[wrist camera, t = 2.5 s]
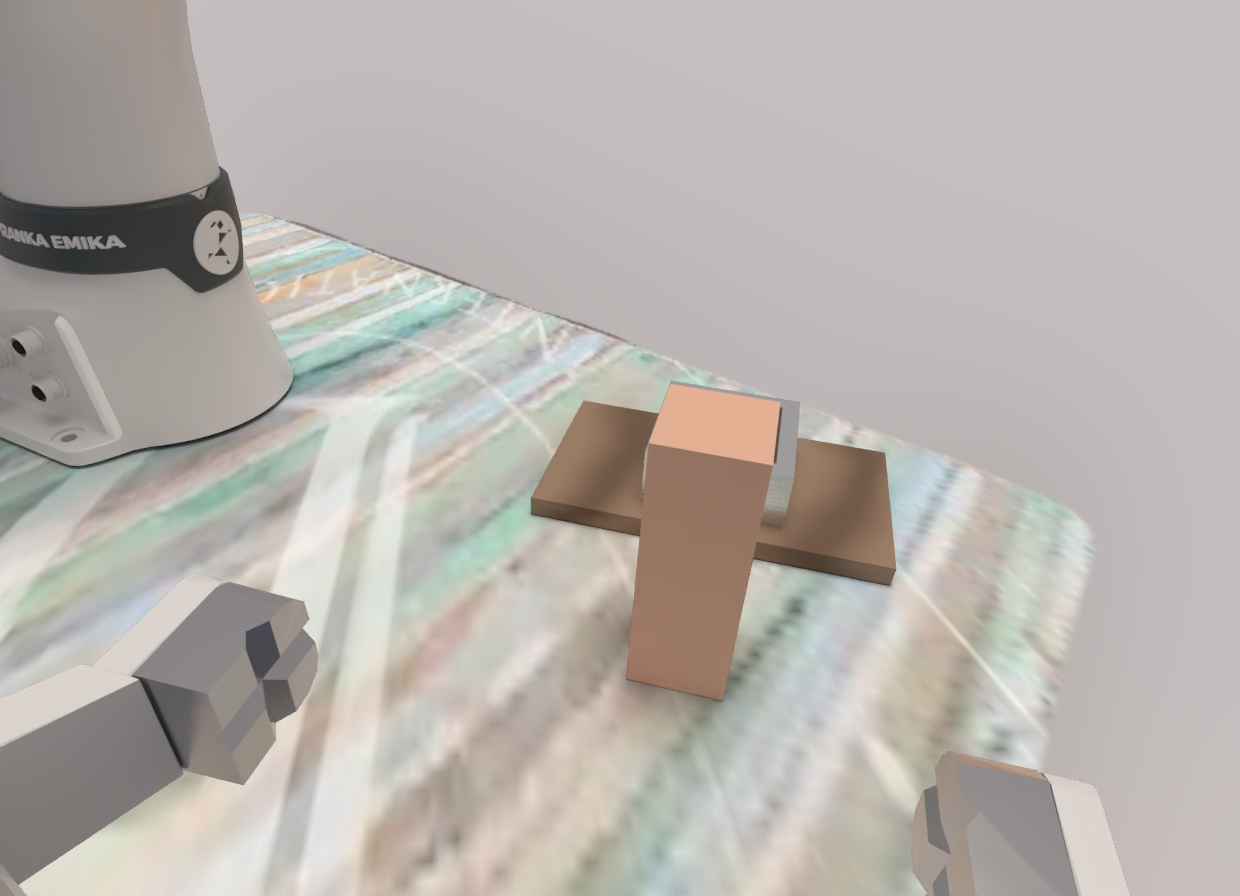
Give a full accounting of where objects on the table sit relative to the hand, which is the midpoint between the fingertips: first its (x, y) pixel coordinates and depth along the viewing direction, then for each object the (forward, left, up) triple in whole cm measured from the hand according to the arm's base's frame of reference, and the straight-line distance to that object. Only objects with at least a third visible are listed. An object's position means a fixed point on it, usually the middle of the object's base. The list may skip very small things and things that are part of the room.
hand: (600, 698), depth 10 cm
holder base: (0, +31, -20) cm, 37 cm away
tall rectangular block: (0, +18, -20) cm, 27 cm away
